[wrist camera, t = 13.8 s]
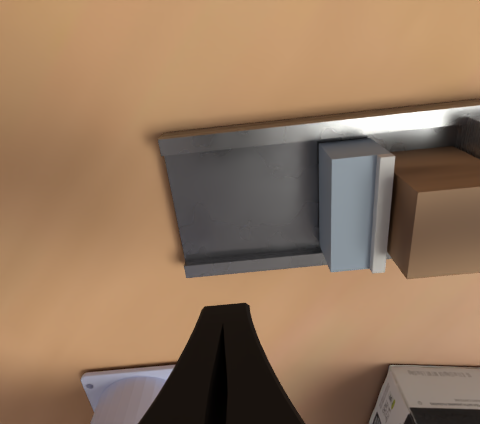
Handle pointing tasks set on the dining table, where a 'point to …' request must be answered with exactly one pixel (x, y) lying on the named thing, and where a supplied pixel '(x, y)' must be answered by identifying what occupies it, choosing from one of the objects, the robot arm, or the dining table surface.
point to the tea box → (429, 396)
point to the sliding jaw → (355, 204)
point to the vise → (283, 180)
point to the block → (435, 213)
